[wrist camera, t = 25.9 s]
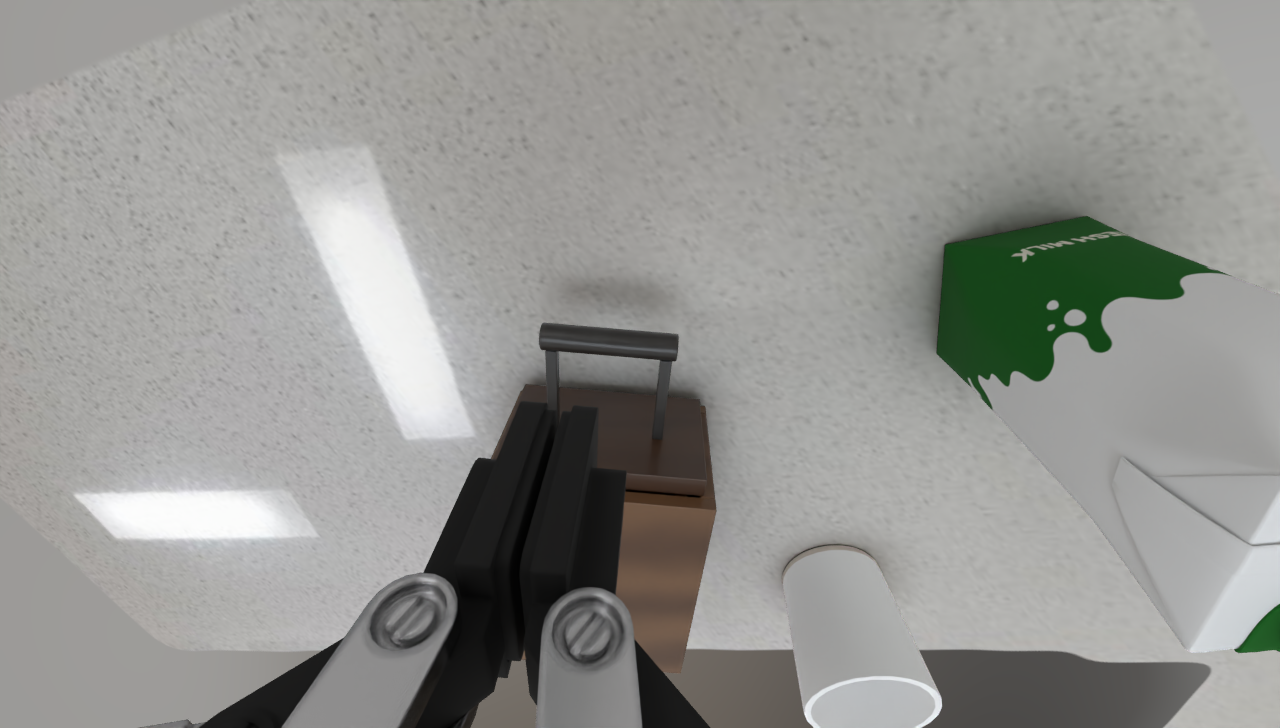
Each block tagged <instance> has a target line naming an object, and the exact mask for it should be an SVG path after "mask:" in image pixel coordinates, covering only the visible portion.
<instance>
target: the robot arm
mask: <svg viewBox="0 0 1280 728" xmlns="http://www.w3.org/2000/svg"><path fill="white" fill-rule="evenodd" d="M598 417H599V409H598V407H590V406H578V405H573V407H572V411H563V412H562V415H561V419H560V422H559V426H558V429H557V412H556V410H548V404H547V403H543V402H531V401H521V402H520V404H519V406H518V408H517V411H516V413H515V416H514V418H513V421H512V423H511V425H510V428H509V430H508V433H507V435H506V438H505V440H504V443H503V445H502V447H501V450H500V452H499V455H498V457H497V459H486V458H478V459H477V460H476V461H475V463H474V465H473V466H472V468H471V470H470V473H469V475H468V477H467V479H466V481H465V484H464V486H463V488H462V490H461V492H460V494H459V497H458V499H457V501H456V503H455V505H454V507H453V510H452V512H451V514H450V516H449V518H448V521H447V523H446V525H445V527H444V529H443V531H442V534H441V536H440V538H439V540H438V542H437V544H436V547H435V549H434V551H433V553H432V555H431V558H430V560H429V562H428V564H427V566H426V568H425V571H424V573H417V574H412V575H407V576H404V577H402V578H400V579H398V580H395V581H393V582H391V583H390V584H389V585H387V586H386V587H384V588H383V589H382V590H380V591H379V592H378V593H377V594H376V595H375V596H374V598H373V599H372V600H371V601H370V602H369V603H368V605H367V606H366V607H365V609H364V610H363V612H362V613H361V615H360V616H359V617H358V619H357V620H356V622H355V623H354V625H353V626H352V627H351V629H350V630H349V632H348V633H347V635H346V636H345V637H344V638H343V639H341V640H339V641H338V642H336V643H334V644H333V645H331V646H329V647H328V648H326V649H324V650H323V651H321V652H320V653H318V654H316V655H314V656H313V657H311V658H309V659H308V660H306V661H305V662H303V663H301V664H300V665H298V666H296V667H295V668H293V669H291V670H289V671H288V672H286V673H285V674H283V675H281V676H279V677H278V678H276V679H275V680H273V681H271V682H270V683H268V684H266V685H265V686H263V687H261V688H260V689H258V690H256V691H255V692H253V693H251V694H250V695H248V696H246V697H245V698H243V699H241V700H240V701H238V702H236V703H235V704H233V705H231V706H230V707H228V708H226V709H225V710H223V711H221V712H220V713H218V714H217V715H215V716H214V717H213V718H211V719H210V720H208V721H207V722H204V723H198V724H192V723H191V722H190V721H189V720H182V721H176V722H170V723H164V724H158V725H152V726H146V727H140V728H470V727H471V725H472V722H473V720H474V718H475V715H476V711H477V708H478V704H479V703H480V702H481V701H482V700H483V699H485V698H486V697H487V696H489V695H490V694H491V693H492V692H494V689H495V685H496V681H497V678H498V677H501V678H508V674H509V670H510V666H511V661H521V659H522V657H523V653H524V650H525V658H526V667H527V676H528V684H529V693H530V696H531V697H532V699H533V700H534V702H535V703H536V705H537V716H536V728H710V727H709V726H708V724H707V723H706V722H705V721H704V720H703V719H702V717H701V716H700V715H699V714H698V713H697V712H696V710H695V709H694V708H693V707H692V706H691V705H690V703H689V702H688V701H687V700H686V699H685V698H684V696H683V695H682V694H681V693H680V692H679V691H678V689H677V688H676V687H675V686H674V685H673V684H672V682H671V681H670V680H669V679H668V678H667V676H665V674H664V673H663V672H662V671H661V669H660V668H659V667H658V666H657V665H656V664H655V662H654V661H653V660H652V659H651V658H650V657H649V655H648V654H647V653H646V652H645V651H644V650H643V648H642V647H641V646H640V645H639V644H638V642H637V641H636V640H635V639H634V629H633V623H632V619H631V615H630V612H629V611H628V609H627V608H626V606H625V604H624V603H623V601H622V600H620V599H619V598H618V597H617V596H616V589H617V578H618V567H619V557H620V546H621V535H622V525H623V513H624V501H625V489H626V476H627V470H616V469H604V468H597V450H598Z"/></svg>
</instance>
